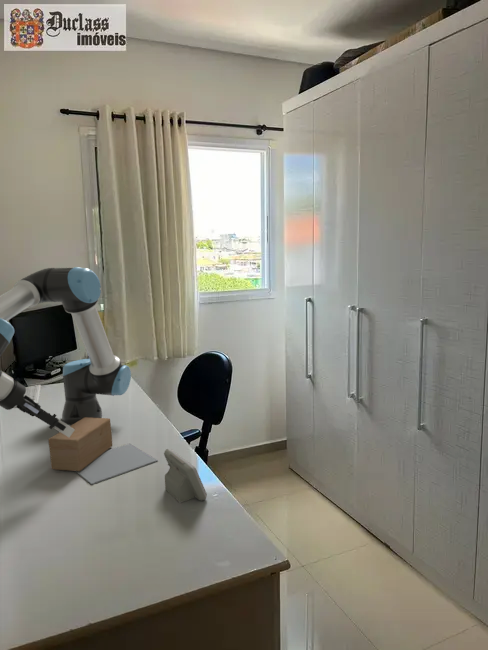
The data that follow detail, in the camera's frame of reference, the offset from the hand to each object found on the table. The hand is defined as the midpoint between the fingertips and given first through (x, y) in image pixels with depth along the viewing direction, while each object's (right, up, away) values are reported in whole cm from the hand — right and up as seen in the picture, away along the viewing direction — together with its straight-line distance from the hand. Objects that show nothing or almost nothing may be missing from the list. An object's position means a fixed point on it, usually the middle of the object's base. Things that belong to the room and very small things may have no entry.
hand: (71, 432), depth 144 cm
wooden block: (-3, -8, +3) cm, 9 cm away
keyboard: (-48, -2, +79) cm, 92 cm away
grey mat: (+9, -12, +10) cm, 18 cm away
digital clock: (+35, -15, -8) cm, 39 cm away
